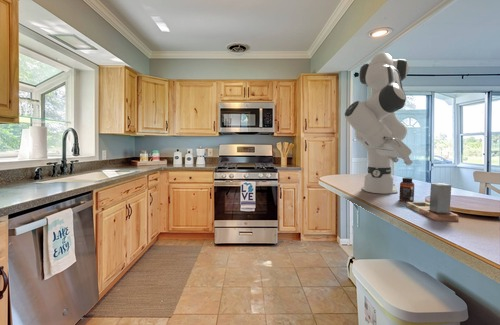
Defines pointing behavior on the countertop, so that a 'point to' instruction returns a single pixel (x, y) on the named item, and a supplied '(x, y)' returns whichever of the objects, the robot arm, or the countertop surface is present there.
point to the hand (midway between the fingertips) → (403, 162)
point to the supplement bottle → (406, 190)
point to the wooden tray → (424, 209)
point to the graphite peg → (440, 198)
